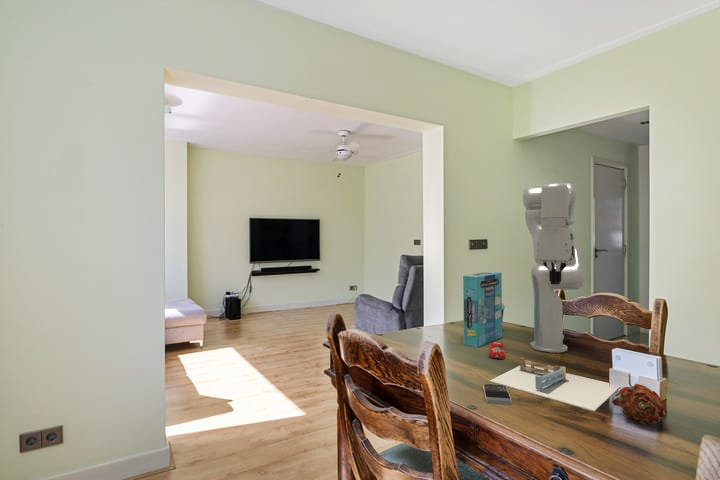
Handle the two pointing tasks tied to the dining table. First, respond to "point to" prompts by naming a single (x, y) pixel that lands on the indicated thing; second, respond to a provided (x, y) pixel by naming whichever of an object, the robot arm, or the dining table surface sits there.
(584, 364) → the dining table surface
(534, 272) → the robot arm
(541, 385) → the panel
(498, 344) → the race car
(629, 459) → the dining table surface
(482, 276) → the game box
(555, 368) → the fence section
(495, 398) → the cell phone
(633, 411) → the dragon fruit
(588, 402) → the card
